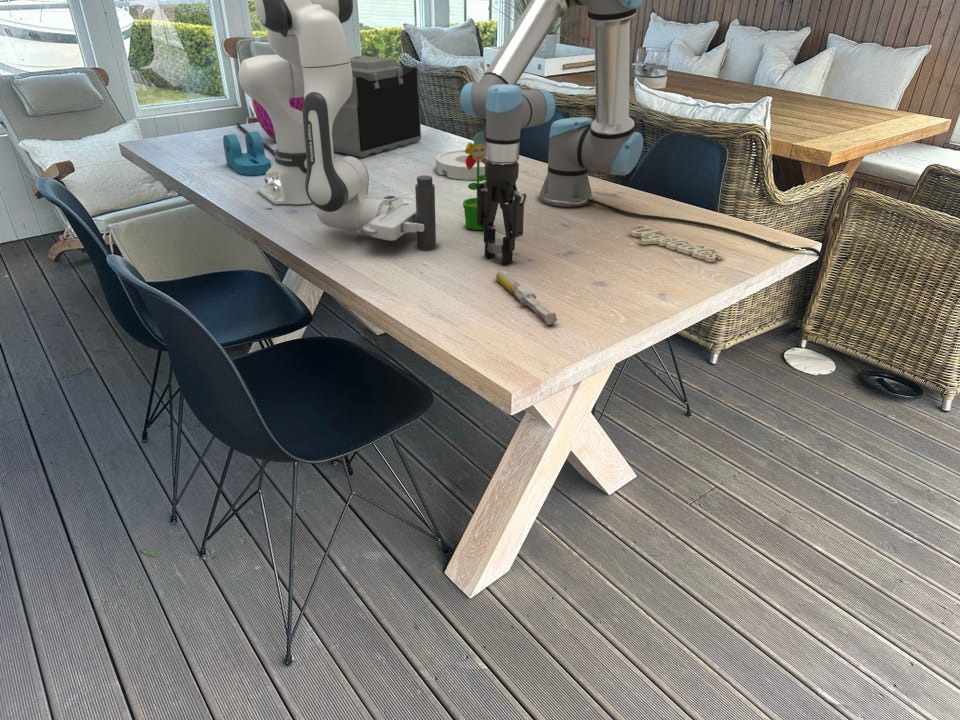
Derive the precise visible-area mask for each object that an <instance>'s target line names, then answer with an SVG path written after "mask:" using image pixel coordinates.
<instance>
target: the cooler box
mask: <svg viewBox="0 0 960 720" xmlns="http://www.w3.org/2000/svg"><path fill="white" fill-rule="evenodd" d="M350 62H351V68H352V75H353V86H352V93H351V95H350V97H349V98H348V100H347V101H346V102H345V104H344V105H343V106H342V107H341V109H340V110H339V112H338V113H337V115H336V117H335V119H334V122H333V127H332V139H333V150H334V153H340V154H344V155H347V156H353V157H356V158H362V159H363V158H366V157H367V158H368V157H369V155H371V154H375V155H377V154H381V153H382V152H383V151H391V150H395V149H396V148H397V147H405V146H407V145H408V144H416V143H418V142H419V141H421V137H422V128H421V97H420V92H419V91H420V89H419V68H418V67H417V66H408V65H400V64H396V62H395V60H394V59H393V58H385V57H377V56H367V55H356V56H353V57H350Z"/></svg>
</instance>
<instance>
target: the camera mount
mask: <svg viewBox="0 0 960 720" xmlns="http://www.w3.org/2000/svg"><path fill="white" fill-rule="evenodd" d="M222 140H223V141H222V143H223V149H224V150H223V151H224V156H225V161H226V165H227V166H228V167H230V168H231V169H232V170H234V171H236V172H237V173H238V174H239V175H244V176H260V175H266V172H267V171H268V170H269V169H270V168H271V167H272V164H271V159H270V158H268V157H267V156H266V153H265V146H264V145H263V142H264V141H263V139H262V136H261V134H260V132H258V131H247V133H245V146H246V152H243V151H242V150H243V149H242V146H241V142H240V140H239V138H238V135H236V134H235V133H231V134H224V135H223V138H222Z"/></svg>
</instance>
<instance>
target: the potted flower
mask: <svg viewBox="0 0 960 720" xmlns="http://www.w3.org/2000/svg"><path fill="white" fill-rule="evenodd" d="M485 144H486V141H485V134H484V132H483V131H479V132H477V133H476V134H475V135H474V136H473V142H471V141H470V142H467V144H466V146H465V149H464V150H465V153H467V154H470V155H469V156H468V157H467V158H466V161H465V163H466V166H467V168H468V170H470V169H471V168H472V167H473V166H474V165H475V163H476V161H477V180H476V182H471V183H469V184H468V185H467V188H468V189H469V190H471V191H476V197H470V198H466V199H464V200H463V201H462V207H463V212H464V219H465V227H466V228H467V229H469V230H472V231H484V230H483V228H482V226H479V225H478V224H477V207H478V192H477V187H476V185H477V184H479V183H480V182H482V181H484V180H486V179H485V175H481V176H479V162H480V160H481V161H482V163H484V164H485V162H486V161H487V160H486V159H485ZM482 219H483V218H482Z"/></svg>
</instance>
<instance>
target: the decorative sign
mask: <svg viewBox="0 0 960 720" xmlns="http://www.w3.org/2000/svg"><path fill="white" fill-rule="evenodd" d="M650 229H651V227H650V226H648V225H644V224H637V225H636V229H632V230H631V231H630V236H631V237H634V238H640V245H643V246H644V245H646V246H647V245H658V246H660V247H666V248H667V249H669V250H671V251H677V252H678V253H682V254H685V255H691V256H692V257H693V258H697V259H699V260H704V261H705V262H709V263H714V262H716V260H719V261H720V260H721V259H722V254H721V253H718V252H715V250H716V249H715V248H714V247H705V245H706V244H700V243H699V244H690V243H689V241H688V240H686V239H682V238H681V239H680V238H677V237H673V238H671V237H667V236H663V235H662V234H663V230H662V229H652V230H650Z"/></svg>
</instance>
